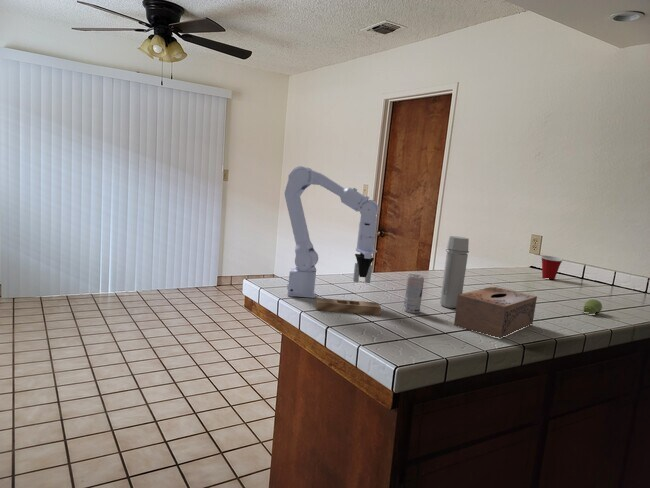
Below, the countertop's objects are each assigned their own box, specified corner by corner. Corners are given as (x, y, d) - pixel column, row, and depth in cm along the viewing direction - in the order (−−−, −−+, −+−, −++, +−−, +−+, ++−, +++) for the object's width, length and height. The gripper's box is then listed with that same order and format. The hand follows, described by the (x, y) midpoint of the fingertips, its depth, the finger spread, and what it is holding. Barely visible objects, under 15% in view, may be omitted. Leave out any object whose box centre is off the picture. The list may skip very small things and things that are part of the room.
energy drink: (420, 310, 152) (425, 275, 150) (418, 314, 147) (423, 278, 145) (404, 307, 153) (409, 273, 152) (402, 311, 148) (406, 275, 147)
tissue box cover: (499, 340, 129) (504, 306, 128) (453, 326, 139) (458, 294, 137) (532, 326, 147) (537, 296, 146) (489, 314, 157) (493, 286, 156)
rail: (316, 309, 140) (317, 302, 140) (316, 305, 146) (316, 297, 145) (380, 315, 142) (381, 307, 141) (377, 310, 147) (378, 302, 147)
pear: (605, 300, 173) (596, 307, 166) (603, 312, 174) (594, 320, 168) (589, 296, 177) (580, 303, 170) (587, 308, 178) (578, 316, 172)
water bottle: (445, 302, 167) (454, 235, 164) (464, 307, 162) (474, 239, 158) (432, 305, 161) (441, 235, 157) (451, 311, 155) (461, 239, 152)
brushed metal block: (353, 281, 151) (355, 264, 151) (353, 280, 154) (354, 263, 153) (370, 283, 152) (372, 265, 151) (368, 281, 154) (370, 264, 153)
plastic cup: (540, 279, 238) (544, 257, 237) (534, 275, 249) (538, 254, 247) (562, 282, 237) (566, 260, 235) (555, 278, 247) (559, 257, 246)
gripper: (382, 240, 144) (377, 281, 146) (374, 234, 158) (370, 272, 160) (360, 238, 143) (355, 279, 145) (354, 233, 158) (350, 271, 160)
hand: (362, 276), depth 153 cm, fingers closed on brushed metal block, 2 cm apart
